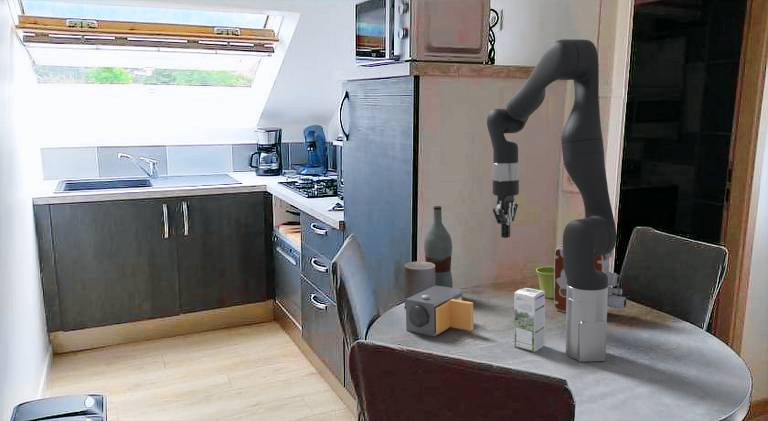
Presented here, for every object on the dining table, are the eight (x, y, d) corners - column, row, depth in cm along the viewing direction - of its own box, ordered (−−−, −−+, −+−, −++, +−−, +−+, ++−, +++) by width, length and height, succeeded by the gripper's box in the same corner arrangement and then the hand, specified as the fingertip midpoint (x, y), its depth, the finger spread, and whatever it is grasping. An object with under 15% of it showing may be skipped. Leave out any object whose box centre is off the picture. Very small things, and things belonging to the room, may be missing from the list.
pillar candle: (398, 308, 176) (397, 261, 174) (418, 300, 183) (417, 255, 181) (422, 315, 170) (421, 266, 167) (442, 307, 177) (441, 260, 174)
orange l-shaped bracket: (450, 324, 158) (450, 298, 157) (473, 329, 154) (473, 302, 152) (436, 333, 151) (435, 306, 150) (459, 338, 147) (459, 310, 146)
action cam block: (435, 314, 170) (435, 282, 168) (463, 319, 164) (462, 286, 163) (404, 331, 156) (403, 297, 154) (433, 338, 151) (432, 302, 149)
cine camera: (619, 323, 157) (621, 253, 155) (551, 311, 169) (552, 246, 166) (628, 314, 165) (630, 247, 162) (562, 303, 176) (563, 240, 173)
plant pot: (569, 299, 180) (569, 273, 179) (539, 300, 180) (539, 274, 179) (560, 291, 189) (561, 266, 188) (532, 292, 189) (532, 267, 188)
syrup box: (545, 345, 143) (546, 290, 141) (533, 353, 139) (534, 295, 137) (525, 340, 147) (525, 286, 145) (513, 347, 143) (513, 291, 141)
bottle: (419, 296, 188) (417, 207, 184) (435, 290, 195) (433, 203, 191) (442, 301, 182) (441, 209, 178) (458, 294, 189) (457, 205, 185)
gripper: (502, 176, 172) (503, 232, 174) (483, 180, 161) (484, 240, 163) (526, 176, 167) (526, 234, 170) (508, 180, 157) (508, 242, 159)
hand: (505, 237), depth 166 cm, fingers closed
